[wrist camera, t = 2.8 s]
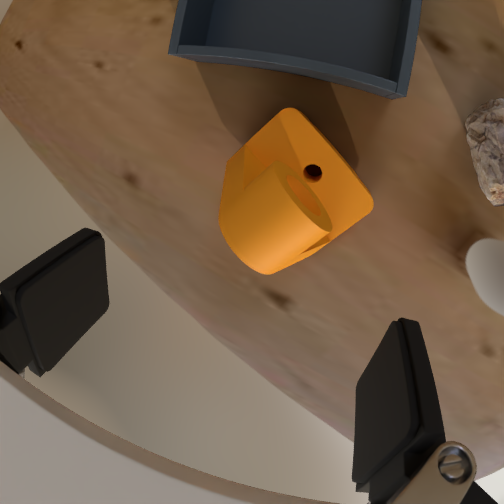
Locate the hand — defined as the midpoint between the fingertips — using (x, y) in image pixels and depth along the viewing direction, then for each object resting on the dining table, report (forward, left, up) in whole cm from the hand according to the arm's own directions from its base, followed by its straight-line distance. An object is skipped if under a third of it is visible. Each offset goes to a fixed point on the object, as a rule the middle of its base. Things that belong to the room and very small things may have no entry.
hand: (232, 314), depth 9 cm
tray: (+3, -19, -21) cm, 28 cm away
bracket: (0, 0, -21) cm, 21 cm away
